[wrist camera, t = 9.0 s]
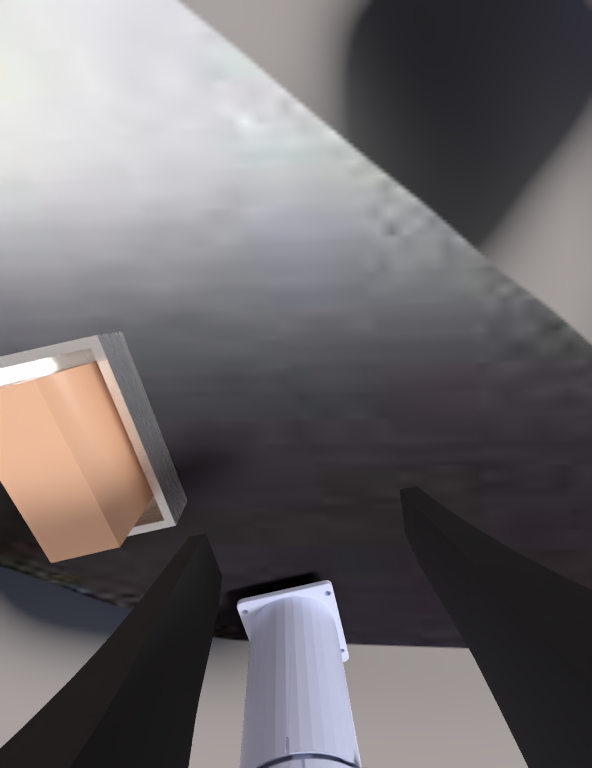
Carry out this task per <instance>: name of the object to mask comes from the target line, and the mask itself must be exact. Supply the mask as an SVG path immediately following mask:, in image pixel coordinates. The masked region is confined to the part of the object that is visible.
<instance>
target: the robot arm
mask: <svg viewBox="0 0 592 768" xmlns="http://www.w3.org/2000/svg"><path fill="white" fill-rule="evenodd" d="M400 495H401V503H402V510H403V518H404V526H405V534H406V537H407V539H408V541H409V543H410V545H411V548H412V550H413V552H414V554H415V556H416V558H417V560H418V562H419V564H420V566H421V568H422V570H423V571H424V573H425V575H426V576H427V578H428V580H429V582H430V583H431V585H432V587H433V588H434V590H435V592H436V593H437V595H438V597H439V598H440V600H441V602H442V603H443V605H444V607H445V608H446V610H447V612H448V613H449V615H450V617H451V618H452V620H453V622H454V624H455V625H456V627H457V629H458V630H459V632H460V634H461V635H462V637H463V639H464V640H465V642H466V644H467V646H468V648H469V649H470V651H471V653H472V655H473V657H474V658H475V660H476V662H477V664H478V666H479V668H480V670H481V672H482V674H483V676H484V678H485V680H486V682H487V684H488V686H489V688H490V690H491V692H492V694H493V696H494V698H495V700H496V702H497V704H498V706H499V708H500V710H501V712H502V714H503V716H504V718H505V720H506V722H507V724H508V726H509V728H510V731H511V733H512V735H513V737H514V739H515V741H516V743H517V745H518V747H519V749H520V751H521V753H522V755H523V757H524V759H525V761H526V763H527V765H528V768H592V590H590V589H588V588H586V587H584V586H582V585H580V584H578V583H575V582H573V581H571V580H569V579H567V578H565V577H563V576H561V575H559V574H557V573H555V572H553V571H551V570H549V569H547V568H546V567H544V566H542V565H540V564H538V563H536V562H534V561H532V560H530V559H529V558H527V557H525V556H523V555H521V554H519V553H518V552H516V551H514V550H512V549H510V548H509V547H507V546H505V545H504V544H502V543H500V542H499V541H497V540H495V539H494V538H492V537H490V536H489V535H487V534H486V533H484V532H482V531H481V530H479V529H478V528H476V527H475V526H473V525H472V524H470V523H469V522H467V521H466V520H464V519H463V518H461V517H460V516H458V515H457V514H455V513H454V512H452V511H451V510H449V509H448V508H447V507H445V506H444V505H442V504H441V503H439V502H438V501H437V500H435V499H434V498H432V497H431V496H430V495H428V494H427V493H425V492H424V491H423V490H421V489H420V488H418V487H417V486H415V487H410V488H406V489H402V490H400ZM221 581H222V575H221V572H220V569H219V567H218V564H217V561H216V559H215V556H214V554H213V551H212V548H211V546H210V543H209V540H208V538H207V535H206V533H205V534H200V535H196V536H192V537H189V538H188V539H187V541H186V542H185V543H184V544H183V546H182V547H181V548H180V550H179V551H178V552H177V554H176V555H175V556H174V558H173V559H172V560H171V561H170V563H169V564H168V565H167V567H166V568H165V569H164V571H163V572H162V573H161V575H160V576H159V577H158V578H157V580H156V581H155V582H154V584H153V585H152V586H151V587H150V589H149V590H148V591H147V593H146V594H145V595H144V596H143V598H142V599H141V600H140V601H139V603H138V604H137V605H136V606H135V607H134V609H133V610H132V611H131V612H130V614H129V615H128V616H127V617H126V618H125V620H124V621H123V622H122V623H121V624H120V626H119V627H118V628H117V629H116V631H115V632H114V633H113V634H112V635H111V636H110V637H109V638H108V640H107V641H106V642H105V643H104V644H103V645H102V646H101V648H100V649H99V650H98V651H97V652H96V653H95V654H94V655H93V656H92V657H91V658H90V659H89V661H88V662H87V663H86V664H85V665H84V666H83V667H82V668H81V669H80V670H79V671H78V672H77V673H76V675H75V676H74V677H73V678H72V679H71V680H70V681H69V682H68V683H67V684H66V685H65V686H64V687H63V688H62V689H61V690H60V691H59V692H58V693H57V694H56V695H55V696H54V697H53V698H52V699H51V700H50V701H49V702H48V703H47V704H46V705H45V706H44V707H43V708H42V709H41V710H40V711H39V712H38V713H37V714H36V715H35V716H34V717H33V718H32V719H31V720H30V721H29V722H28V723H27V724H26V725H25V726H24V727H23V728H22V729H21V730H19V731H18V732H17V733H16V734H15V735H14V736H13V737H12V738H11V739H10V740H9V741H8V742H7V743H6V744H5V745H4V746H2V747H1V748H0V768H188V766H189V759H190V752H191V746H192V738H193V732H194V724H195V718H196V713H197V708H198V702H199V697H200V693H201V688H202V683H203V679H204V674H205V669H206V665H207V660H208V656H209V651H210V647H211V642H212V637H213V633H214V628H215V623H216V619H217V614H218V608H219V600H220V591H221ZM237 610H238V612H239V615H240V618H241V620H242V623H243V626H244V628H245V631H246V634H247V636H248V639H249V641H250V651H249V663H248V675H247V686H246V699H245V710H244V721H243V734H242V744H241V745H242V746H241V757H240V768H362V767H361V761H360V755H359V750H358V744H357V739H356V733H355V727H354V722H353V716H352V711H351V705H350V700H349V694H348V688H347V683H346V678H345V672H344V666H343V662H345V661H347V660H348V658H349V655H348V650H347V646H346V642H345V638H344V633H343V629H342V625H341V621H340V616H339V612H338V608H337V604H336V600H335V595H334V591H333V587H332V583H331V582H330V581H328V580H324V581H320V582H315V583H311V584H306V585H302V586H297V587H293V588H288V589H284V590H279V591H275V592H270V593H266V594H262V595H257V596H253V597H248V598H244V599H240V600H239V601H238V603H237Z"/></svg>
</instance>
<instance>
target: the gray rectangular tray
mask: <svg viewBox="0 0 592 768" xmlns="http://www.w3.org/2000/svg"><path fill="white" fill-rule="evenodd" d="M94 361H97V363H98V365H99V368H100V370H101V372H102V375H103V377H104V379H105V382H106V384H107V387H108V389H109V391H110V394H111V396H112V398H113V401H114V403H115V405H116V408H117V410H118V412H119V415H120V417H121V419H122V422H123V424H124V427H125V429H126V431H127V434H128V436H129V438H130V441H131V443H132V445H133V448H134V450H135V452H136V455H137V457H138V459H139V462H140V464H141V466H142V469H143V471H144V474H145V476H146V478H147V481H148V483H149V485H150V488H151V490H152V492H153V495H154V496H153V498H152V499H151V501H150V502H149V504H148V505H147V507H146V509H145V510H144V512H143V513H142V515H141V516H140V518H139V519H138V521H137V522H136V524H135V525H134V527H133V528H132V530H131V531H130V533H129V534H128V536H131V535H136V534H140V533H144V532H149V531H153V530H158V529H162V528H167V527H171V526H176V524H177V522H178V520H179V518H180V516H181V514H182V512H183V509H184V507H185V505H186V503H187V498H186V495H185V493H184V490H183V488H182V485H181V482H180V480H179V477H178V475H177V472H176V470H175V467H174V464H173V462H172V459H171V457H170V454H169V451H168V449H167V446H166V444H165V441H164V439H163V436H162V433H161V431H160V428H159V426H158V423H157V420H156V418H155V415H154V413H153V410H152V408H151V405H150V402H149V400H148V397H147V395H146V392H145V389H144V387H143V384H142V382H141V379H140V377H139V374H138V371H137V369H136V366H135V364H134V361H133V358H132V356H131V353H130V351H129V348H128V346H127V343H126V340H125V338H124V335H123V333H122V331H120V332H114V333H107V334H101V335H95V336H91V337H86V338H82V339H77V340H73V341H68V342H64V343H59V344H55V345H50V346H46V347H42V348H37V349H33V350H28V351H24V352H19V353H15V354H10V355H6V356H1V357H0V385H4V384H8V383H11V382H15V381H18V380H22V379H25V378H29V377H32V376H36V375H40V374H44V373H48V372H52V371H56V370H60V369H65V368H69V367H73V366H77V365H82V364H86V363H90V362H94Z"/></svg>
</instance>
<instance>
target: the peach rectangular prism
mask: <svg viewBox="0 0 592 768" xmlns="http://www.w3.org/2000/svg"><path fill="white" fill-rule="evenodd" d="M0 481H1V483H2V484H3V486H4V487H5V489H6V491H7V492H8V494H9V496H10V497H11V499H12V500H13V502H14V504H15V505H16V507H17V509H18V510H19V512H20V513H21V515H22V517H23V518H24V520H25V522H26V523H27V525H28V526H29V528H30V530H31V531H32V533H33V535H34V536H35V538H36V540H37V541H38V543H39V544H40V546H41V548H42V549H43V551H44V553H45V554H46V556H47V557H48V559H49V561H50V562H51V563H54V562H58V561H62V560H66V559H71V558H75V557H79V556H84V555H88V554H92V553H96V552H101V551H105V550H109V549H113V548H118V547H120V546H121V545H122V543H123V542H124V540H125V539H126V537H127V536H128V534H129V533H130V531H131V530H132V528H133V527H134V525H135V524H136V522H137V521H138V519H139V518H140V516H141V515H142V513H143V512H144V510H145V509H146V507H147V505H148V504H149V502H150V501H151V499H152V498H153V496H154V495H153V492H152V490H151V488H150V485H149V483H148V481H147V478H146V476H145V474H144V471H143V469H142V466H141V464H140V462H139V459H138V457H137V455H136V452H135V450H134V448H133V445H132V443H131V441H130V438H129V436H128V434H127V431H126V429H125V427H124V424H123V422H122V419H121V417H120V415H119V412H118V410H117V408H116V405H115V403H114V401H113V398H112V396H111V394H110V391H109V389H108V387H107V384H106V382H105V379H104V377H103V375H102V372H101V370H100V368H99V365H98V363H97V361H94V362H90V363H86V364H82V365H77V366H73V367H69V368H65V369H60V370H56V371H52V372H48V373H44V374H40V375H36V376H32V377H29V378H25V379H22V380H18V381H15V382H11V383H8V384H4V385H0Z"/></svg>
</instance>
